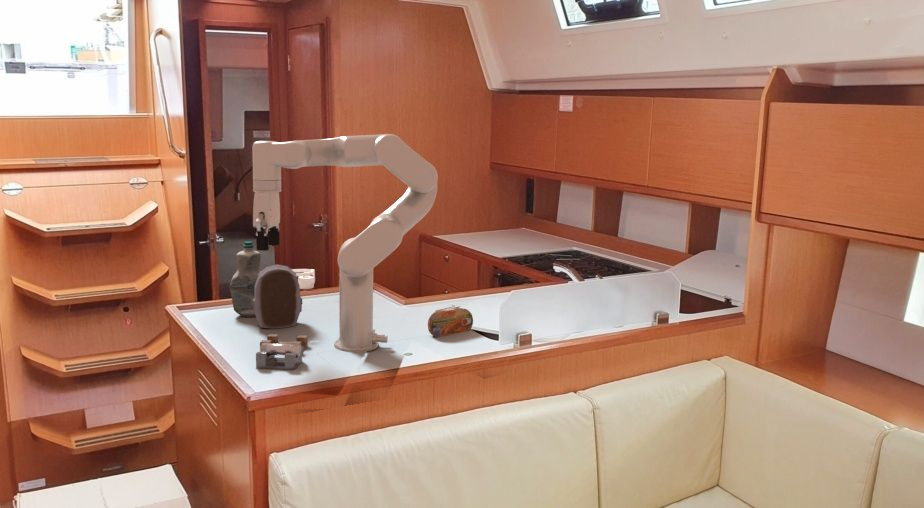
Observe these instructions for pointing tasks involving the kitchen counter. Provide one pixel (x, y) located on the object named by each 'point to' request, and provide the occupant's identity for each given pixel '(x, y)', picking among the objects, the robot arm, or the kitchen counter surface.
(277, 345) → the steel axle
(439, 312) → the tin
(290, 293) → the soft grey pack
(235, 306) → the detergent
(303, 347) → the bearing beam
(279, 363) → the V-block
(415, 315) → the kitchen counter surface
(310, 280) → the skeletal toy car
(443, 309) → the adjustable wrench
